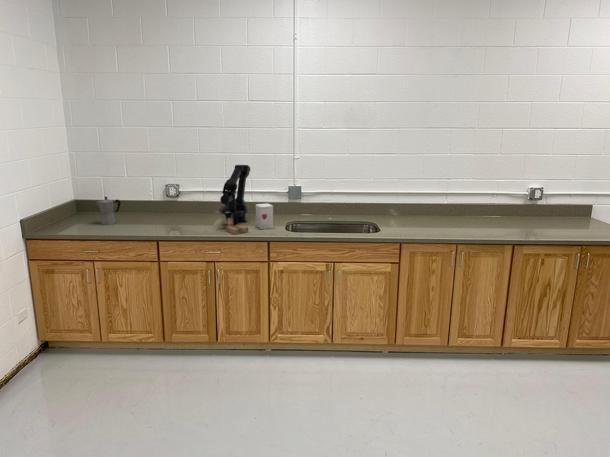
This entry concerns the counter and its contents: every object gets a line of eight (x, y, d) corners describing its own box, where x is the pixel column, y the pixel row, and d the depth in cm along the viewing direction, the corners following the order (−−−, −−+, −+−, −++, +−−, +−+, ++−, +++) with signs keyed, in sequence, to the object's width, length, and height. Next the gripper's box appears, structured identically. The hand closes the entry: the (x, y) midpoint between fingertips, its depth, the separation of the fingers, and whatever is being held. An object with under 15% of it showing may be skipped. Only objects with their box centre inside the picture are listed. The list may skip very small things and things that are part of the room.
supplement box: (260, 229, 295) (260, 206, 291) (255, 226, 303) (255, 204, 299) (273, 228, 299) (273, 205, 295) (268, 225, 307) (267, 203, 303)
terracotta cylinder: (233, 225, 305) (233, 216, 303) (236, 227, 301) (236, 218, 299) (226, 226, 302) (226, 217, 300) (230, 228, 298) (229, 219, 296)
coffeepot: (97, 225, 300) (94, 198, 296) (97, 222, 308) (94, 196, 304) (122, 223, 306) (120, 197, 301) (122, 220, 314) (120, 194, 310)
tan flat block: (240, 228, 296) (240, 224, 295) (248, 232, 288) (248, 227, 288) (226, 231, 290) (226, 226, 290) (233, 234, 283) (233, 229, 282)
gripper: (213, 200, 300) (214, 223, 304) (226, 205, 285) (227, 229, 289) (228, 198, 306) (229, 221, 310) (242, 203, 292) (242, 227, 296)
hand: (231, 224), depth 301 cm, fingers open, 8 cm apart
